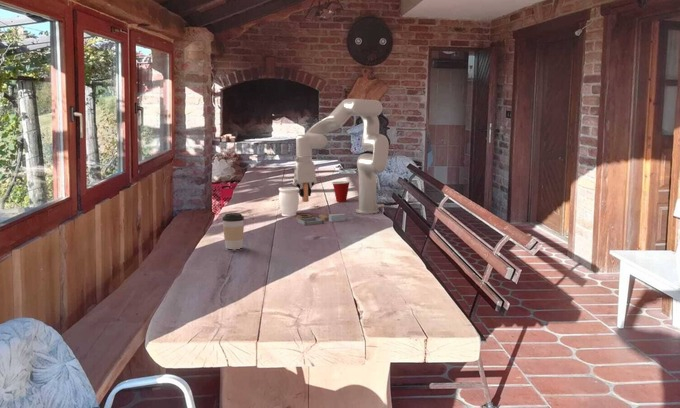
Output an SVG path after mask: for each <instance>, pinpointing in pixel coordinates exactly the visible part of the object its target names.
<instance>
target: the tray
mask: <svg viewBox="0 0 680 408" xmlns="http://www.w3.org/2000/svg"><path fill="white" fill-rule="evenodd" d="M296 221H297V223H299V224H301V225H303V226H310V225H321V224H324V223H325V221H324V220H322V219H320V218H319V217H316V216H314V217H313V218H303V219H297V220H296Z"/></svg>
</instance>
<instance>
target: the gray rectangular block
mask: <svg viewBox="0 0 680 408" xmlns="http://www.w3.org/2000/svg"><path fill="white" fill-rule="evenodd" d="M331 214H332V215H329V220H328V222H331V223H333V222H334V223H335V222H343V221H344V222H345V221H346V220H347V219H346V218H347V217H346V216H347V215H346V214H345V213H331Z"/></svg>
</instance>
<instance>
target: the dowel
mask: <svg viewBox="0 0 680 408" xmlns="http://www.w3.org/2000/svg"><path fill="white" fill-rule="evenodd" d="M303 190H304V197H301V202H304V203H307V202H310V201H309V199H310V196H308V183H303Z"/></svg>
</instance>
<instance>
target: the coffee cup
mask: <svg viewBox="0 0 680 408" xmlns="http://www.w3.org/2000/svg"><path fill="white" fill-rule="evenodd" d="M244 220H245V216H244V215H242V213H239V212H230V213H226V214H224V216H222V222H223V223H222V228H223V237H224V244H225V249H226V248H229V249H240V248H242V249H243V247H244V246H243V245H244V243H243V240H244V230H245V228H244V227H245V225H244ZM240 250H241V249H240Z"/></svg>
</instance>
